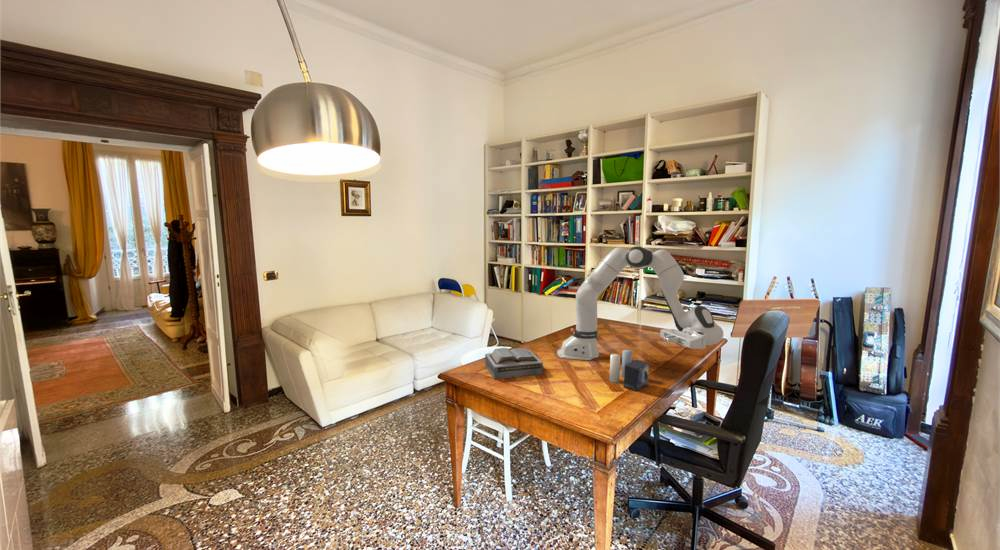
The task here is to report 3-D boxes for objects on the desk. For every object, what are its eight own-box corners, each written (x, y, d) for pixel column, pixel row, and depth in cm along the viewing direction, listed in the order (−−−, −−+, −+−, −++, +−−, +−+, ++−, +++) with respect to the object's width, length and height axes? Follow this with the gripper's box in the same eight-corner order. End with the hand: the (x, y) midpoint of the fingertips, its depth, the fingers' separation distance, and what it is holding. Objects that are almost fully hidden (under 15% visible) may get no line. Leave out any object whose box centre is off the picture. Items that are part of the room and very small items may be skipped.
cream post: (610, 382, 180) (611, 356, 179) (608, 378, 185) (609, 353, 183) (620, 382, 180) (621, 356, 179) (618, 378, 184) (619, 353, 183)
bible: (484, 362, 207) (484, 344, 206) (536, 361, 209) (536, 343, 208) (486, 380, 184) (486, 359, 183) (544, 378, 186) (544, 358, 185)
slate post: (622, 377, 186) (623, 352, 184) (620, 374, 190) (621, 349, 189) (632, 377, 186) (633, 352, 184) (629, 374, 190) (630, 349, 189)
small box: (636, 392, 170) (637, 368, 169) (622, 387, 175) (623, 364, 174) (649, 385, 177) (650, 362, 176) (635, 381, 182) (636, 358, 181)
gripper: (675, 324, 191) (650, 327, 187) (709, 336, 172) (682, 338, 168) (674, 337, 192) (650, 340, 188) (708, 350, 173) (682, 353, 169)
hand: (665, 339), depth 178 cm, fingers closed
